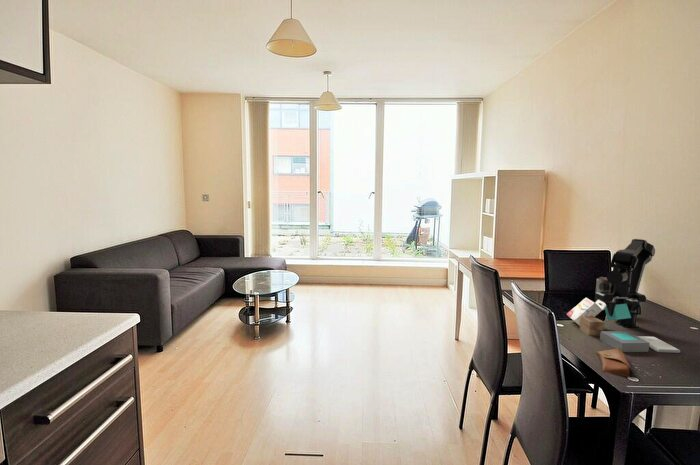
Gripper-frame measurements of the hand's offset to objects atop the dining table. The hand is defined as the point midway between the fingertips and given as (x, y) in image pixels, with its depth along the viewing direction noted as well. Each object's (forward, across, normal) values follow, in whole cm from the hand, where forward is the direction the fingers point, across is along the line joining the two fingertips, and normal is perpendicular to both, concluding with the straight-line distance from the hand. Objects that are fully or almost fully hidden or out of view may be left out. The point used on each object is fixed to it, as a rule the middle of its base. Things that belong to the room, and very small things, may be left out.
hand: (618, 316), depth 157 cm
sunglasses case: (+8, +24, +29) cm, 38 cm away
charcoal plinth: (+8, +8, +14) cm, 18 cm away
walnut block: (+7, +12, +1) cm, 14 cm away
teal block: (+1, 0, +1) cm, 1 cm away
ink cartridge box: (+6, +14, -9) cm, 17 cm away
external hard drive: (+8, -6, +13) cm, 17 cm away
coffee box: (+7, -17, -29) cm, 35 cm away
